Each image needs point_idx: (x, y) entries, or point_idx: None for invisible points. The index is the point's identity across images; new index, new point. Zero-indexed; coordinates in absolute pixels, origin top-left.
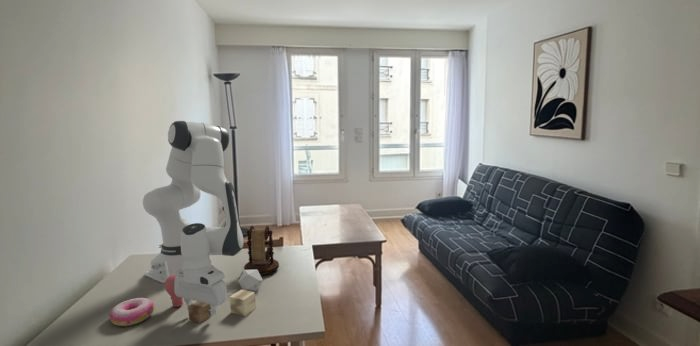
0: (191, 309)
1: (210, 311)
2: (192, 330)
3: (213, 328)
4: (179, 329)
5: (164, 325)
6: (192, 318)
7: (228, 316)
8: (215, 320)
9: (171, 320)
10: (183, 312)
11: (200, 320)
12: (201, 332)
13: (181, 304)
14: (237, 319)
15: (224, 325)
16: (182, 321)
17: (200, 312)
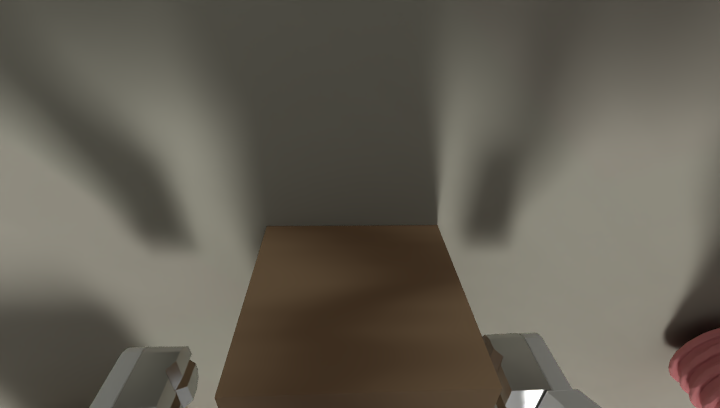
0: (412, 354)
1: (110, 402)
2: (204, 73)
3: (28, 208)
4: (403, 15)
5: (704, 12)
6: (389, 247)
7: None
8: (181, 309)
9: (654, 149)
10: (593, 294)
11: (259, 251)
12: (41, 83)
13: (677, 361)
14: (30, 373)
15: (4, 285)
16: (500, 182)
17: (239, 347)
